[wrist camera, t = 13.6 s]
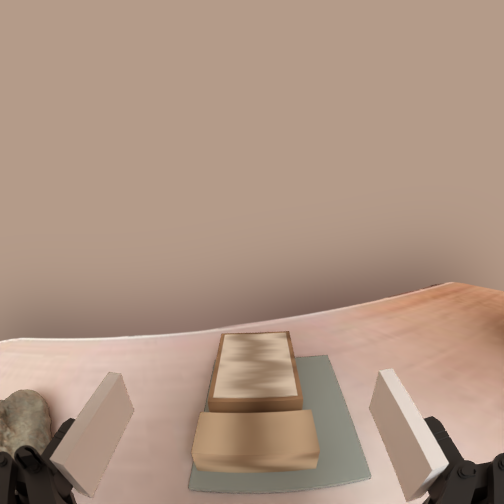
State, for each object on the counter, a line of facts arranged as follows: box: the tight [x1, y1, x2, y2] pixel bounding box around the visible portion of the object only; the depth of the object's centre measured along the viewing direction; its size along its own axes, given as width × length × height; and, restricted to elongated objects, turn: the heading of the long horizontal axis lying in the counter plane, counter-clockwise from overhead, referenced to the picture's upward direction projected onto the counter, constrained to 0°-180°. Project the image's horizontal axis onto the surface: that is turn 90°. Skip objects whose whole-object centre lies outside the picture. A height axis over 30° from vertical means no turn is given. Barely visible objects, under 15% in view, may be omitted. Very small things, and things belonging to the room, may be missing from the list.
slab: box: [208, 331, 303, 413], centre depth 31 cm, size 9×3×14 cm
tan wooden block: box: [191, 409, 320, 473], centre depth 20 cm, size 10×5×3 cm, turn 89°
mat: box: [188, 355, 371, 493], centre depth 26 cm, size 15×20×1 cm
